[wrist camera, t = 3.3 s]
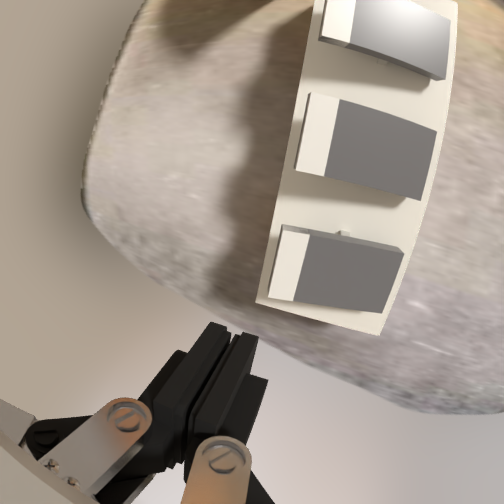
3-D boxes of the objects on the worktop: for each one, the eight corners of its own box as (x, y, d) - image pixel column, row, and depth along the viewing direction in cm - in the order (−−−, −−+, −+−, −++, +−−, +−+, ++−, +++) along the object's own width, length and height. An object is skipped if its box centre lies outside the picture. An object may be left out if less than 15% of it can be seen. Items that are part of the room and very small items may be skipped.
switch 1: (441, 24, 14) (450, 20, 13) (436, 81, 16) (445, 79, 14) (327, -18, 14) (331, -26, 12) (317, 40, 15) (321, 35, 14)
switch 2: (427, 130, 17) (437, 131, 16) (412, 196, 19) (420, 201, 17) (308, 94, 17) (311, 91, 15) (293, 167, 18) (295, 170, 17)
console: (437, 27, 18) (462, -4, 12) (374, 300, 28) (380, 345, 22) (323, -2, 20) (315, -42, 14) (269, 272, 30) (247, 309, 24)
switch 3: (397, 246, 20) (404, 253, 19) (376, 304, 22) (382, 313, 20) (281, 223, 20) (282, 229, 18) (267, 287, 21) (267, 297, 20)
